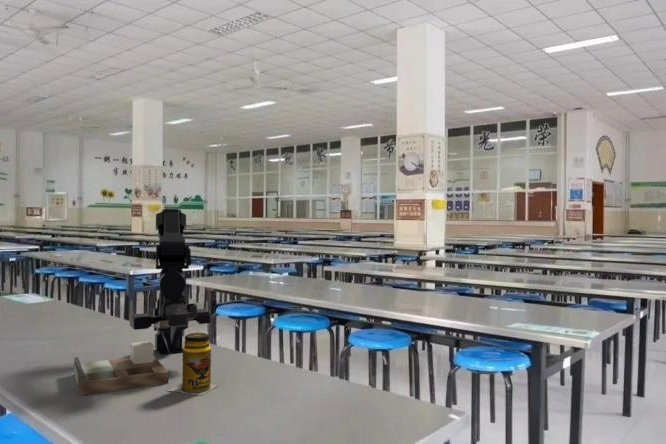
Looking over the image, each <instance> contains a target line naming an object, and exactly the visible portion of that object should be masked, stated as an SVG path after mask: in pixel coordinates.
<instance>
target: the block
mask: <svg viewBox="0 0 666 444" xmlns="http://www.w3.org/2000/svg"><path fill="white" fill-rule="evenodd" d="M129 349H130V350H129V351H130V353H129V355H130V357H129V358H130V360H131V361H132V363H133V364H140V363H149V362H153V356H154V353H155V352H154V350H155V344H153V343H152V342H151V341H150V340H149V341H139V342H138V341H137V342H131V343H130V348H129Z"/></svg>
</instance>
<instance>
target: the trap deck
mask: <svg viewBox="0 0 666 444" xmlns="http://www.w3.org/2000/svg"><path fill="white" fill-rule="evenodd" d="M80 361H81V360H80V359H79V357H73V376H74V378H75V381H76V385H77V387H78V390H79V394H80V395H81V396H85V395H91V394H99V393H107V392H115V391H121V390H128V389H136V388H143V387H148V386H149V387H150V386H155V385H163V384H164V385H165V384H169V371H168V370H167V368H166V367H164V365H163V364H162V363H161V362H160V361H159V359H157V358H156V357H155V356H154V355H153V362H149V363H140V364H133V363H132V361H131V360H130V357H126V358H125V357H124V358H115V359H107V360H106V359H105V360H99V361H98V360H97V361H90V362H89V361H88V362H80Z"/></svg>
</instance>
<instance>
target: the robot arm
mask: <svg viewBox="0 0 666 444" xmlns="http://www.w3.org/2000/svg"><path fill="white" fill-rule="evenodd" d="M186 229H187V214H185V213H183V212H182V209H179V208H164V209H162V210H161V211H160V212H158V213H155V230H156V231H157V232H158V233H157V235H158V236H157V237H158V240H159V241H158V243H159V244H156V246H155V249H156V250H155V270H160V271H159V293H158V299H157V301H156V305H157V306H156V307H154V308H153V309H154V310H153V312H154V313H153V315H150V314H149V313H147V312H145V313H133V314H131V315H130V317H129V326H130V327H131V328H132V329H133V330H135V331H136V330H137V331H138V330H147V329H149V328H150V327H151V326H152V325H153V331H154V332H155V331H156V333H155V335H154V350H155V351H156V352H157V353H158V354H159V355H166V354H169V355H171V354H174V353H176V354H177V353H183V348H184V347H183V332H184V330H187V329H189V323H190V322H192V321H193V322H194V321H196V323H198V325H204V324H205V325H206V324H211V323H212V314H211V312H209V311H208V310H206V309H204V308H198V305H197V303H196V302H195V303H188V304H187V303H186V302H185V299H186V298H185V295H184V294H185V292H184V291H185V289H186V286H187V285H186V280H185V272H184V270H188V269H190V266H192V251H191V248H190V245H189V244H186V237H185V236H184V231H186Z"/></svg>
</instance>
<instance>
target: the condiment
mask: <svg viewBox="0 0 666 444" xmlns="http://www.w3.org/2000/svg"><path fill="white" fill-rule="evenodd" d="M182 348H183V352H182V374H181V375H182V382H181V383H179V384H178V385H175V386H173V387H171V388H170V389H168V390H167V392H169V391H170V392H176V393H182V394H188V395H193V396H194V395H196V396H203V395H204V394H207V393H208V392H210V391H211V390H213V389H215V387H217V386H218V384H215V383H211V382H212V373H211V372H212V347H211V345H210V334H208V333H205V332H192V333H188V334H186V335H185V336H184V347H182Z"/></svg>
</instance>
